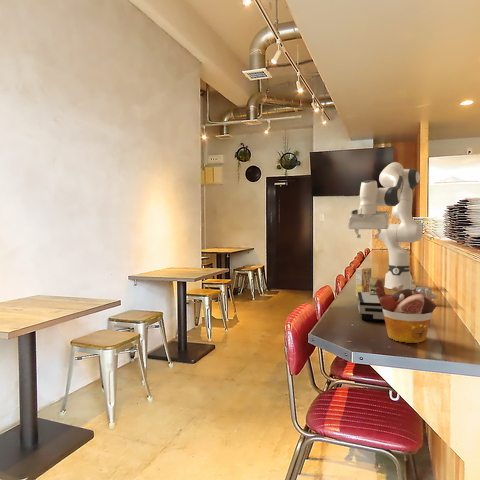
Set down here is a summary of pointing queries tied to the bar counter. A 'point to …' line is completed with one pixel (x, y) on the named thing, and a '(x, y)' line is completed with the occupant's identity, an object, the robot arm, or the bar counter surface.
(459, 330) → the bar counter surface
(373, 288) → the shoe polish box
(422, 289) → the grey small irregular piece
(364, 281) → the candy box
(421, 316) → the bucket of meat
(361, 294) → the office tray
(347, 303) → the bar counter surface
